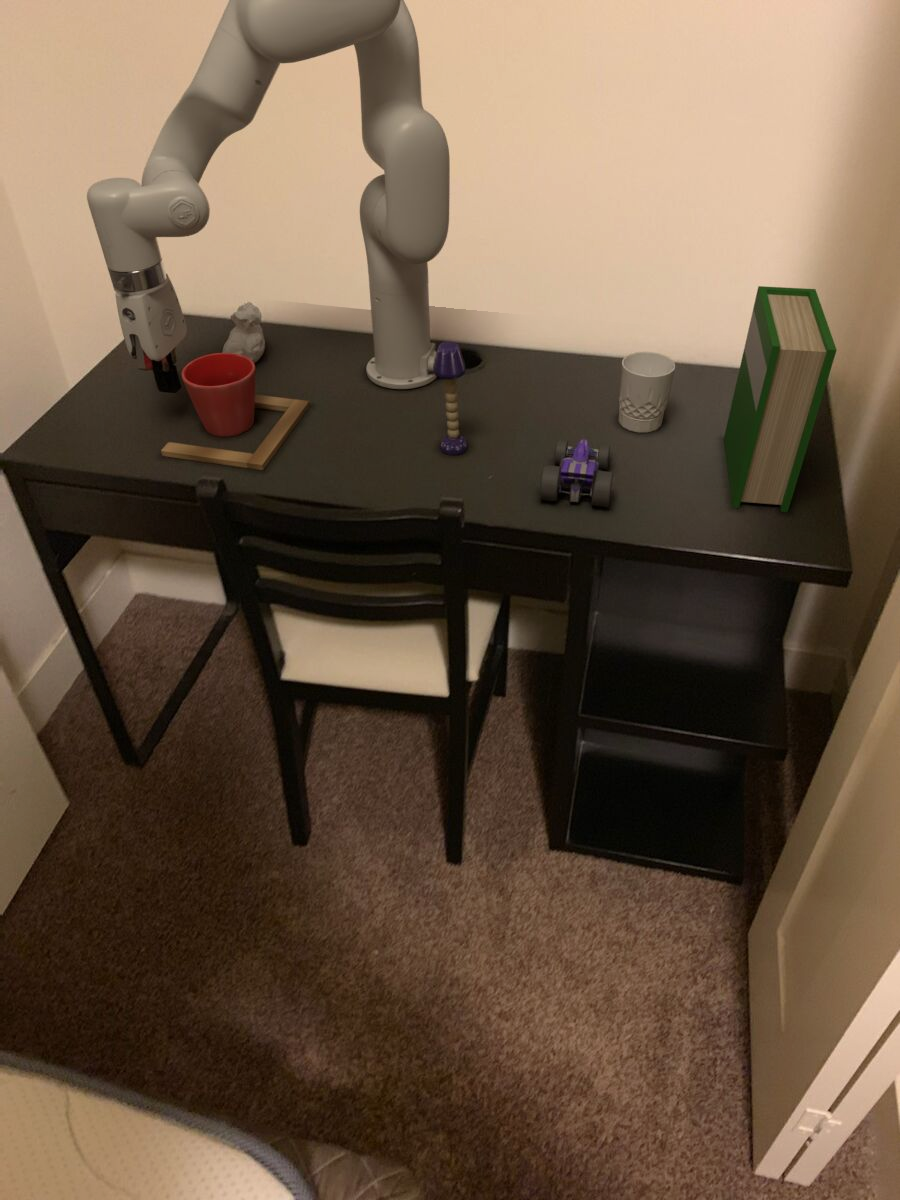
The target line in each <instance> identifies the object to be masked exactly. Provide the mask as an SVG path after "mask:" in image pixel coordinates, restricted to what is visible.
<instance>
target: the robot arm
mask: <svg viewBox="0 0 900 1200" xmlns="http://www.w3.org/2000/svg"><path fill="white" fill-rule="evenodd" d="M351 46H353V47H354V50H355V54H356V59H357V61H356V62H357V69H358V70H357V71H358V77H359V93H360V94H359V95H360V118H361V120H360V121H361V140H362V144H363V147H364V150H365V152H366V154H367V155H368V157H369V158H370V159H371V160H372V162H374V163H375V164H376V166H378V167H379V168H381V170H383V172H384V173H383V174H380V175H378V176H376V177H374V178H372V179H371V180H370V181H369V182H368V183H367V185H366V186H365V188H364V190H363V191H362V194H361V197H360V202H359V222H360V227H361V233H362V238H363V243H364V248H365V254H366V262H367V264H366V265H367V273H368V289H369V302H370V313H371V327H372V340H373V352H374V354H373V355H374V356H373V357H372V358H371V359H370V360H369V361H368V362H367V364H366V368H365V369H366V376H367V378H368V379H369V380H370V381H371V382H372V383H374V384H375V385H377V386H379V387H383V388H386V389H392V390H410V389H417V388H419V387H420V388H421V387H424V386H426V385H428V384H430V383H432V382H433V381H435V380H436V379H438V377H437V376H436V375H435V374H434V363H435V359H436V354H437V350H436V343H435V342H431V330H430V329H431V327H430V326H431V325H430V290H429V289H430V288H429V283H430V282H429V281H430V279H429V263H428V262H430V261H432V260H434V258H435V257H437V256H438V255H439V254H440V253H441V251H442V250H443V247H444V246H445V243H446V241H447V238H448V234H449V226H450V198H451V197H450V195H451V194H450V190H451V189H450V185H451V184H450V182H451V181H450V177H451V176H450V175H451V173H450V171H451V169H450V167H451V166H450V165H451V164H450V163H451V162H450V159H451V158H450V149H449V144H448V139H447V136H446V133H445V131H444V129H443V126H442V125H441V123H440V122H439V120H438V119H436V117H435V116H434V115H433V114H432V113H430V112H429V111H427V110H426V109H425V108H424V106H423V98H422V97H423V96H422V78H421V60H420V49H419V41H418V36H417V31H416V27H415V23H414V21H413V18H412V15H411V13H410V11H409V7H408V5H407V4H406V2H405V0H228V1H227V4H226V6H225V9H224V11H223V13H222V15H221V17H220V19H219V21H218V24H217V26H216V28H215V31H214V33H213V35H212V37H211V39H210V42H209V44H208V46H207V48H206V51H205V53H204V54H203V55H204V56H203V57H202V59H201V62H200V64H199V66H198V68H197V70H196V73H195V74H194V77H193V78H192V81H191V82H190V84H189V86H188V87H187V88H186V90H185V91H184V92H183V94H182V96H181V97H180V99H179V100H178V102H177V104H176V105H175V106H174V108H173V109H172V110H171V112H170V113H169V115H168V116H167V119H166V120H165V121H164V124H163V126H162V128H161V130H160V132H159V134H158V136H157V139H156V140H155V143H154V145H153V147H152V149H151V152H150V154H149V156H148V159H147V161H146V163H145V167H144V169H143V172H142V175H141V176H142V177H141V183H140V182H138V181H137V180H135V179H133V178H129V177H110V178H105V179H102V180H99V181H97V182H94V183H93V184H92V185H90V187H89V188H88V190H87V192H86V200H87V205H88V208H89V211H90V214H91V218H92V221H93V224H94V228H95V231H96V234H97V238H98V241H99V244H100V248H101V251H102V254H103V258H104V260H105V264H106V268H107V271H108V274H109V279H110V281H111V284H112V288H113V290H114V292H115V301H116V308H117V309H116V310H117V314H118V319H119V325H120V328H121V332H122V335H123V340H124V343H125V346H126V349H127V351H128V353H129V356H130V357H131V358H132V359H134V360H136V361H137V367H138V370H139V371H145V372H146V371H147V372H148V371H152V373H153V376H154V380H155V384H156V387H157V390H158V392H159V393H167V394H177V393H178V392H179V391H180V390H181V389H182V383H181V380H180V375H179V372H178V368H177V365H176V364H177V361H178V360H177V353H176V348H177V346H178V345H179V344H180V343H182V341H183V340H184V339H185V338H186V337H187V333H188V328H187V323H186V320H185V316H184V312H183V310H182V306H181V304H180V301H179V298H178V295H177V292H176V290H175V287H174V286H173V285H174V284H173V282H172V280H171V279H170V276H169V275H168V273H166V269H165V264H164V261H163V257H162V254H161V250H160V247H159V241H158V239H157V238H184V237H190V236H193V235H196V234H198V233H200V231H202V230H203V229H204V228H205V227H206V225H208V222H209V219H210V212H211V210H210V209H211V208H210V203H209V201H208V197H207V195H206V194H205V191H203V189H202V188H201V187H202V186H200V182H201V179H202V178H203V175H204V173H205V171H206V169H207V167H208V165H209V163H210V161H211V159H212V157H213V156H214V154H215V153H216V151H217V150H218V148H219V147H220V145H221V144H222V143H223V142H224V141H225V140H226V139H227V138H229V137H230V136H232V135H233V134H235V133H237V132H239V131H241V130H243V129H245V128H246V127H247V126H249V125H250V124H251V123H252V122H253V121H254V119H255V117H256V115H257V113H258V110H259V109H260V107H261V104H262V102H263V101H264V98H265V96H266V94H267V92H268V90H269V88H270V86H271V84H272V82H273V79H274V77H275V75H276V74H277V72H278V69H279V68H280V65H281V64H293V63H298V62H303V61H306V60H310V59H314V58H317V57H320V56H323V55H324V56H325V55H327V54H330V53H332V52H336V51H338V50H342V49H345V48H348V47H351Z"/></svg>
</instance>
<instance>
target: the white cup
mask: <svg viewBox="0 0 900 1200" xmlns="http://www.w3.org/2000/svg"><path fill="white" fill-rule="evenodd" d="M620 369H621V371H620V382H619V395H618V400H619V402H618V405H619V408H618V409H619V411H618V423H619V425H620V426H621V427H622V428H623V429H626V430H627V431H629V432H634V433H639V434H641V433H642V434H644V433H645V434H646V433H651V432H654V431H657V430H659V428H661V426H662V424H663V419H664V415H665V410H666V409H667V405H668V402H669V397H670V393H671V388H672V384H673V379H674V375H675V370H676V363H675V361H674V360H673V359H672V358H670V357H669V356H666V354H663V353H658V352H654V351H638V352H637V351H636V352H633V353H629V354H627V355H625V356H624V357H623V359H622V361H621V368H620Z"/></svg>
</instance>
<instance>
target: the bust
mask: <svg viewBox="0 0 900 1200" xmlns="http://www.w3.org/2000/svg"><path fill="white" fill-rule="evenodd" d="M236 310H237V311H235V312H233V313H232V314H231V315H230V321H232V322H233V323H234V324H235V327H233V328H232V329H231V330H230V331H229V336H228V338H227V340H226V341H225V343H224V345H223V348H222V352H221V353H234V354H239V355H243V356H245V357H247V358H249V359H251V360H252V361H253V363H254V364H255V363H257V362H258V361H259V360H260V359H261V357H262V356H263V354H264V351H265V348H266V341H265V336H264V333H263V331H264V330H263V328H262V326H261V325H260V324H261V323H262V312H261V310H260V308H259V307H258V306H256V305H255V304H253V303H252V302H250V301H248V302H245V303H243V304H241V305H239V306H238V308H237V309H236Z"/></svg>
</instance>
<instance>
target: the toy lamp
mask: <svg viewBox="0 0 900 1200" xmlns="http://www.w3.org/2000/svg"><path fill="white" fill-rule="evenodd" d="M436 351H437V354H436V359H435V363H434V374H435V375H436V376H437V378H438V379H441V380H444V391H445V395H444V398H445V401H446V402H445V409H446V412H445V417H446V419H447V421H446V426H447V435H445V436H444V437H443V438H442V439H441V441H440V443H439V450H440V451H441V452H442V453H443V454H445V455H448V456H459V455H462V454H464V453H465V452H466V451H467V450H468V447H469V446H468V441H467V439H466V438H465V437H464V436H462V435H461V434H460V430H459V425H460V423H459V412H458V408H459V404H458V401H457V400H458V392H457V389H458V384H457V379H459V378H462V377H463V376H464V375H465V374H466V372H467V366H466V363H465V360H464V359H465V358H464V357H463V356H464V355H463V353H462V351H461V348H460V345H459V344H458V343H457V342H454V341H443V342H441V343H440V344H438V347H437V350H436Z"/></svg>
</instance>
